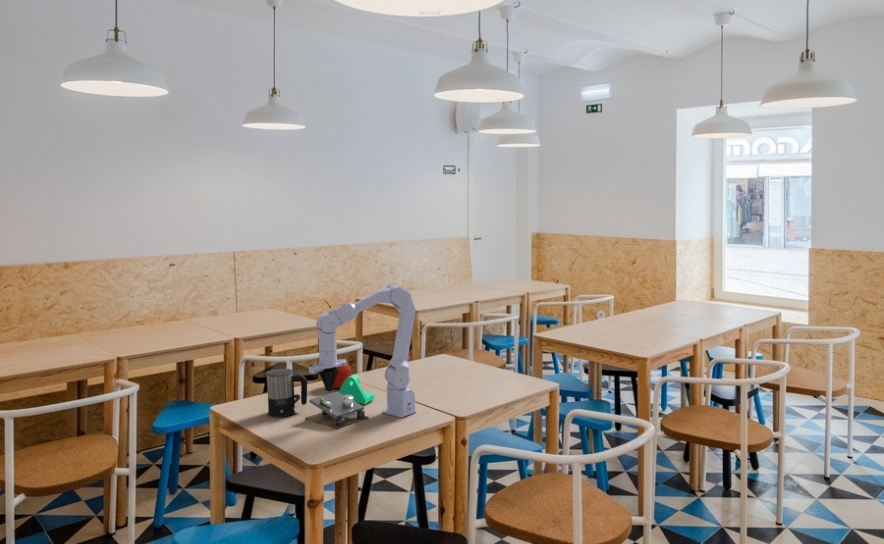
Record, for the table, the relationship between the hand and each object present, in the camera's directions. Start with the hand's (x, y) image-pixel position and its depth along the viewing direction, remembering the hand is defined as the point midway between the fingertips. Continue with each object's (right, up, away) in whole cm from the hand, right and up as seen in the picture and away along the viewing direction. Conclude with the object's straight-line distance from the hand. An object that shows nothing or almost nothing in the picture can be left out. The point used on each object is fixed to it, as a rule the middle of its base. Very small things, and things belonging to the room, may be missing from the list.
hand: (329, 390), depth 220 cm
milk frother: (-18, -10, +14) cm, 25 cm away
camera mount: (+6, -9, +23) cm, 25 cm away
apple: (-3, -6, +42) cm, 42 cm away
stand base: (+2, -10, +3) cm, 11 cm away
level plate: (+2, -6, +3) cm, 7 cm away
